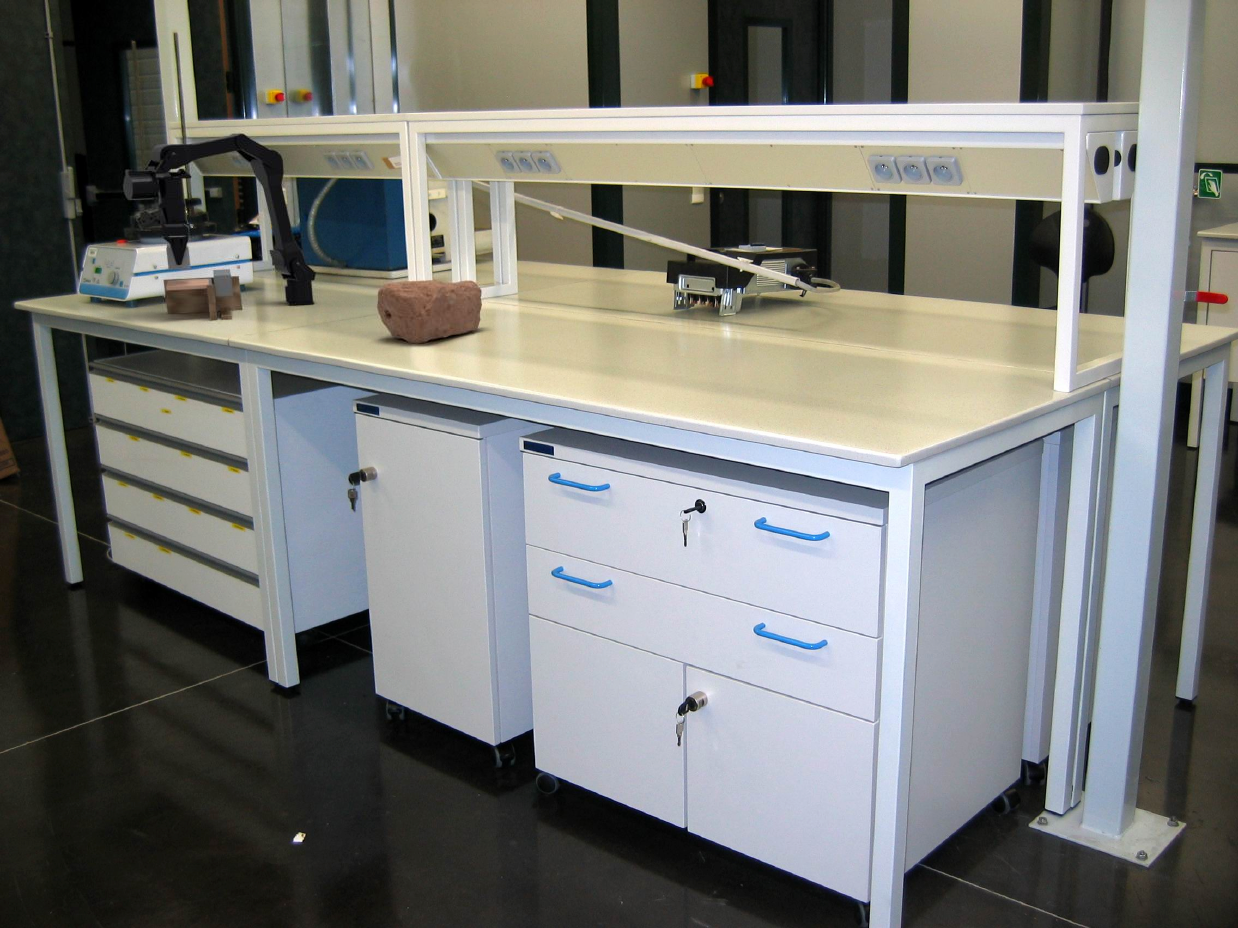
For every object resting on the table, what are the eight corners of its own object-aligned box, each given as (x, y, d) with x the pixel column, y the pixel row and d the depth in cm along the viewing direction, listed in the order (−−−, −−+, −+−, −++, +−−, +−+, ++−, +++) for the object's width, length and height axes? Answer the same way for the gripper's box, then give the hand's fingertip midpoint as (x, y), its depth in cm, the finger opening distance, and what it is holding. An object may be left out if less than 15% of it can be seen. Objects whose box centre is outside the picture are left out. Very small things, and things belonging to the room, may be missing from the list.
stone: (511, 325, 253) (494, 259, 252) (427, 339, 234) (408, 268, 233) (462, 340, 264) (446, 278, 263) (378, 355, 244) (360, 287, 243)
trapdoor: (231, 289, 289) (229, 269, 287) (233, 295, 276) (230, 275, 275) (169, 292, 284) (166, 272, 282) (167, 299, 271) (164, 278, 270)
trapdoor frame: (242, 309, 292) (238, 276, 290) (244, 318, 277) (240, 283, 274) (167, 313, 287) (163, 279, 284) (165, 323, 271) (161, 287, 269)
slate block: (190, 266, 280) (188, 242, 278) (190, 268, 275) (187, 243, 274) (168, 267, 278) (166, 242, 276) (168, 269, 274) (165, 244, 272)
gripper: (137, 197, 278) (145, 261, 282) (133, 201, 261) (141, 269, 265) (186, 196, 282) (192, 260, 286) (185, 200, 265) (192, 267, 269)
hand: (179, 264), depth 276 cm, fingers closed on slate block, 5 cm apart
